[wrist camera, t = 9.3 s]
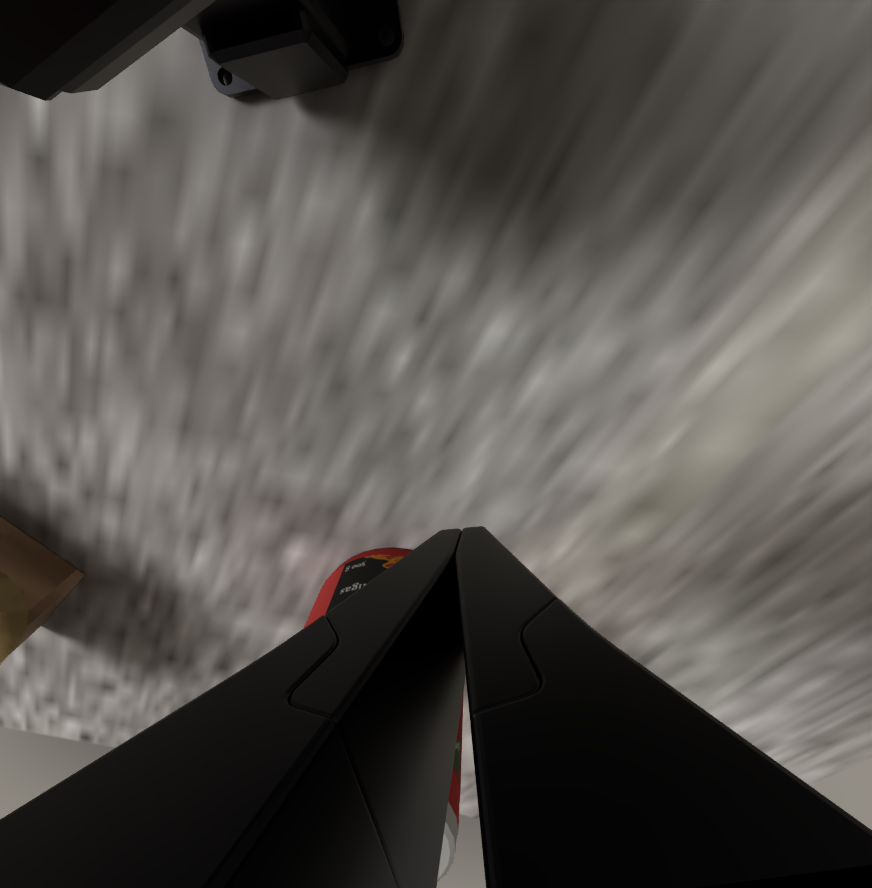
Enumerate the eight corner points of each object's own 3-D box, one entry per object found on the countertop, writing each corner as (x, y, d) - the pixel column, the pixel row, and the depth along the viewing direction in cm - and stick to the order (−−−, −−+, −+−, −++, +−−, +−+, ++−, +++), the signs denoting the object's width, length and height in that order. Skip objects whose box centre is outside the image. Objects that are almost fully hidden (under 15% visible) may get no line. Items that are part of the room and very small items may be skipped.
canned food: (493, 582, 24) (503, 830, 14) (422, 674, 28) (389, 928, 18) (359, 516, 23) (268, 734, 13) (301, 620, 27) (194, 857, 17)
